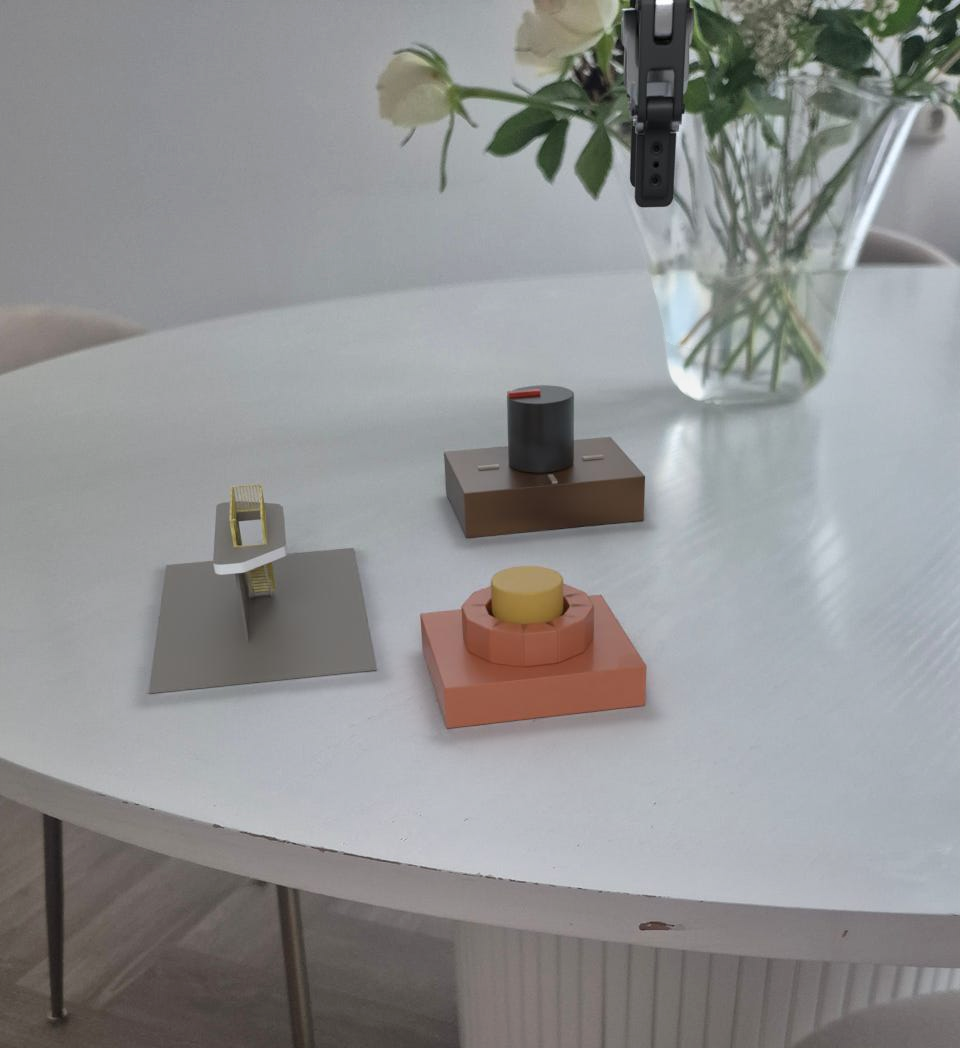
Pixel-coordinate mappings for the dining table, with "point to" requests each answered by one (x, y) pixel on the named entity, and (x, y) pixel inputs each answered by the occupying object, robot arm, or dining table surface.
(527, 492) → the control panel
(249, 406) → the dining table surface
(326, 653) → the platform
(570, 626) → the button box
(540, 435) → the dial knob
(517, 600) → the button
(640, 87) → the robot arm
